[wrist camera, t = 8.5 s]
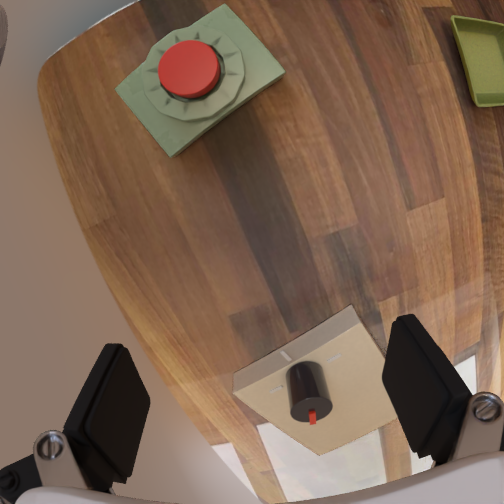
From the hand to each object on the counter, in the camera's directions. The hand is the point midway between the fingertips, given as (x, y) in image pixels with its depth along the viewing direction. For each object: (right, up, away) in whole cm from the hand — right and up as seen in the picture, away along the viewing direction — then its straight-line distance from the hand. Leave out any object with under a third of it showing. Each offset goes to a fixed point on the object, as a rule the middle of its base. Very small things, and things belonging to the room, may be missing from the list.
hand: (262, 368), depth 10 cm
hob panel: (+9, -11, +22) cm, 26 cm away
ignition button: (-4, +15, +7) cm, 17 cm away
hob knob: (+4, -7, +17) cm, 19 cm away
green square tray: (+22, +22, +8) cm, 32 cm away
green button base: (-4, +17, +10) cm, 20 cm away
